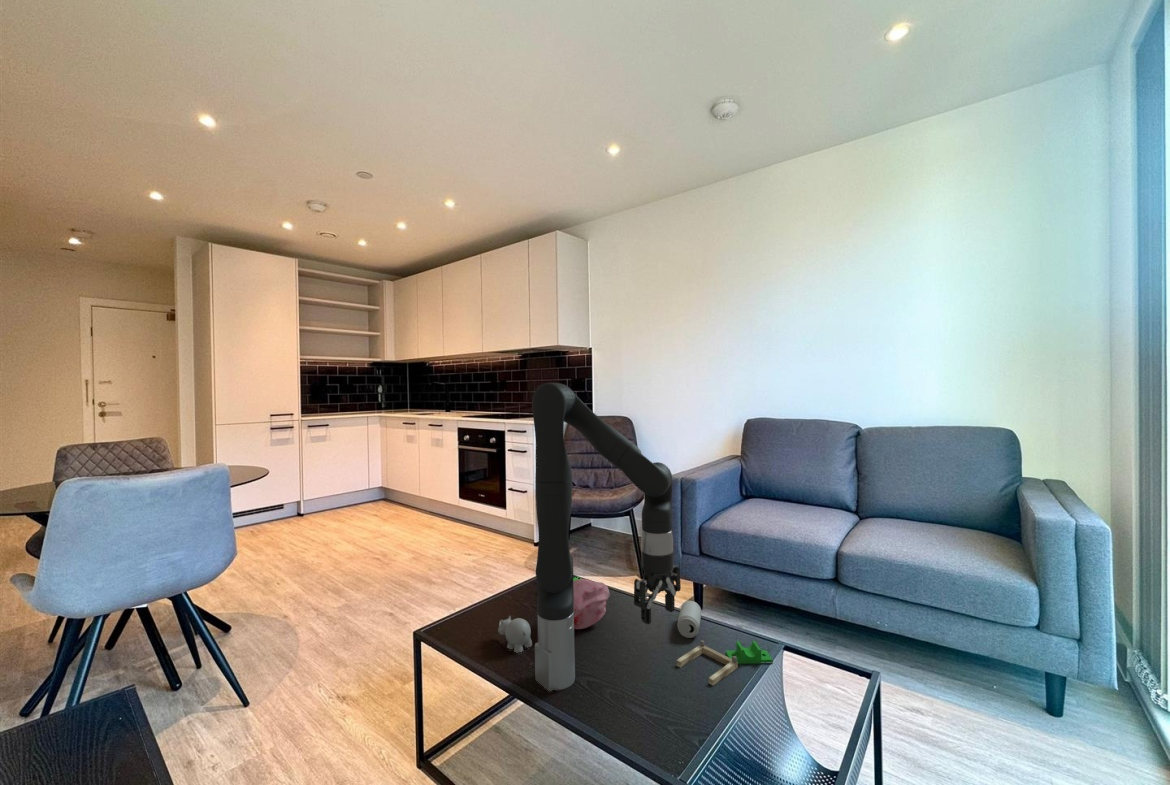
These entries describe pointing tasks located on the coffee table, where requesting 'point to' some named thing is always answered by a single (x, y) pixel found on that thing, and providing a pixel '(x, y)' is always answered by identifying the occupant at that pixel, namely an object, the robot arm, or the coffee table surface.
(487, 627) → the coffee table surface
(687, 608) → the beverage can
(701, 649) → the frame
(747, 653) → the pipe clamp
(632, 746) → the coffee table surface
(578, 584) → the decorative rock
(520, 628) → the rhino figurine
